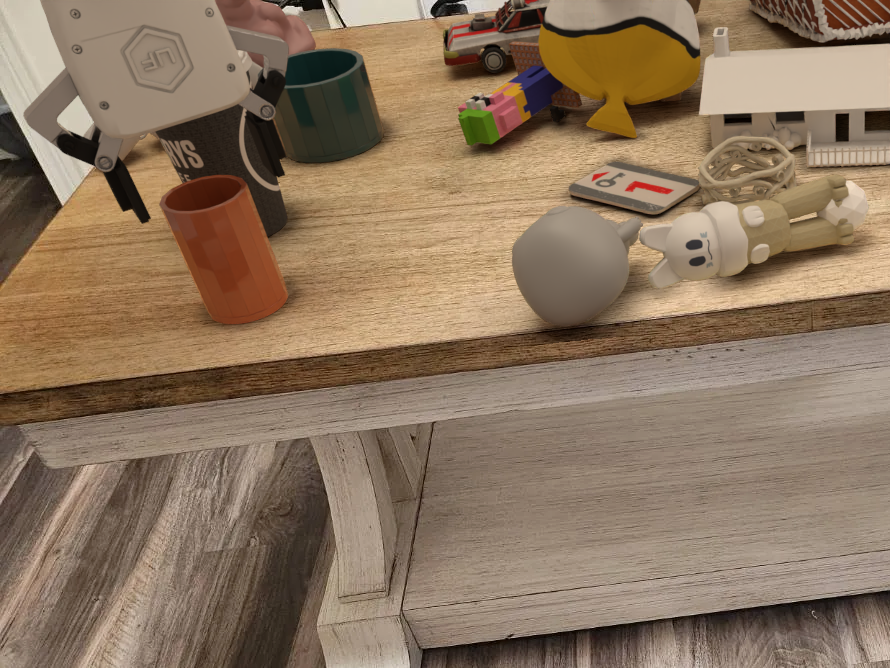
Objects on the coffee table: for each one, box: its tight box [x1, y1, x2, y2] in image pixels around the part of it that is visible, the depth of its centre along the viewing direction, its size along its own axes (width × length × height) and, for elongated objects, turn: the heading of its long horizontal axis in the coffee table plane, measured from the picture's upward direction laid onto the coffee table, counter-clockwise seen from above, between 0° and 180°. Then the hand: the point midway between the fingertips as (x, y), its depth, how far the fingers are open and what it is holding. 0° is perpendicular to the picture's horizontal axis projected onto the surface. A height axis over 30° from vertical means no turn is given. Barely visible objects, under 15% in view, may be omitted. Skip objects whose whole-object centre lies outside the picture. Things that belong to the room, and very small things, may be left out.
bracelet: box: [697, 136, 797, 206], centre depth 91 cm, size 4×8×8 cm
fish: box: [538, 0, 701, 139], centre depth 103 cm, size 20×12×15 cm
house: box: [698, 26, 890, 168], centre depth 99 cm, size 25×24×7 cm
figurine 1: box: [215, 0, 317, 68], centre depth 115 cm, size 9×11×12 cm
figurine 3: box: [511, 205, 644, 327], centre depth 80 cm, size 8×8×12 cm
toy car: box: [442, 0, 550, 74], centre depth 117 cm, size 8×18×8 cm, turn 101°
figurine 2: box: [457, 42, 583, 146], centre depth 104 cm, size 7×6×12 cm
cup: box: [158, 175, 289, 325], centre depth 83 cm, size 6×6×9 cm
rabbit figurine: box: [638, 174, 870, 290], centre depth 84 cm, size 5×10×18 cm
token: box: [568, 161, 701, 215], centre depth 95 cm, size 7×1×10 cm
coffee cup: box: [155, 50, 289, 237], centre depth 90 cm, size 10×10×15 cm
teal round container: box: [257, 47, 385, 164], centre depth 105 cm, size 10×10×7 cm
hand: (209, 192), depth 80 cm, fingers open, 9 cm apart
